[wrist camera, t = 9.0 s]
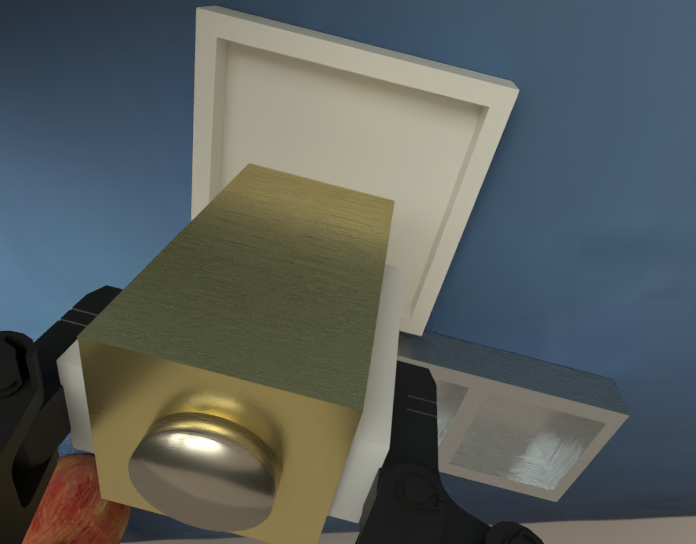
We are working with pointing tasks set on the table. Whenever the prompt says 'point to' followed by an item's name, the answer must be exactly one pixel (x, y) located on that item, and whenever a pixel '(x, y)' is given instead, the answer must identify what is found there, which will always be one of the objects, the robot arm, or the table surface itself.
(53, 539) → the fruit
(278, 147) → the tray
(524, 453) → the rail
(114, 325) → the knobbed block
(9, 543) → the robot arm
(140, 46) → the table surface
